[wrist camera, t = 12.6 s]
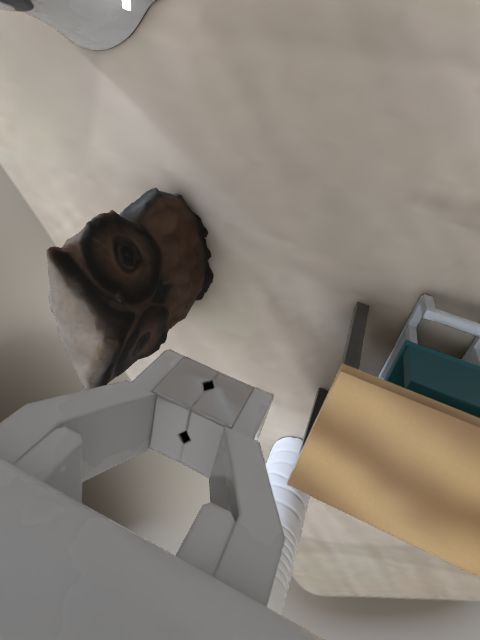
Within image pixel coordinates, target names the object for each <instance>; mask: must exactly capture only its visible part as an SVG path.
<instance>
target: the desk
mask: <svg viewBox="0 0 480 640" xmlns="http://www.w3.org/2000/svg"><path fill="white" fill-rule="evenodd" d="M368 307H369V306H368V305H365V304H363V303H360V302H357V305H356V307H355V309H354V312H353V316H352V320H351V325H350V329H349V333H348V338H347V342H346V346H345V350H344V355H343V359H342V363H341V366H340V368H339V370H338V373H337V375H336V377H335V379H334V381H333V383H332V385H331V388H330V390H329V392H328V391H326V390H324V389H321V388H319V390H318V392H317V395H316V398H315V401H314V405H313V408H312V411H311V415H310V418H309V421H308V425H307V428H306V431H305V435H304V438H303V441H302V445H301V448H300V451H299V454H298V458H297V461H296V463H295V465H294V467H293V469H292V471H291V474H290V476H289V479H288V483H287V485H289V486H291V487H293V488H295V489H297V490H299V491H301V492H303V493H305V494H307V495H310V496H312V497H314V498H316V499H318V500H320V501H322V502H324V503H326V504H328V505H330V506H332V507H334V508H337V509H339V510H341V511H343V512H345V513H347V514H349V515H351V516H353V517H355V518H357V519H359V520H361V521H364V522H366V523H368V524H370V525H372V526H374V527H376V528H378V529H380V530H382V531H384V532H386V533H388V534H391V535H393V536H395V537H397V538H399V539H401V540H403V541H405V542H407V543H409V544H411V545H413V546H415V547H418V548H420V549H422V550H424V551H426V552H428V553H430V554H432V555H434V556H436V557H438V558H440V559H442V560H445V561H447V562H449V563H451V564H453V565H455V566H457V567H459V568H461V569H463V570H465V571H467V572H470V573H472V574H474V575H476V576H478V577H480V418H478V417H476V416H473V415H471V414H468V413H466V412H463V411H461V410H458V409H456V408H453V407H451V406H448V405H446V404H443V403H441V402H438V401H436V400H433V399H431V398H428V397H426V396H423V395H421V394H418V393H416V392H413V391H411V390H408V389H406V388H403V387H401V386H398V385H396V384H393V383H391V382H388V381H386V380H383V379H380V378H378V377H375V376H373V375H370V374H368V373H365V372H363V371H360V370H359V365H360V359H361V352H362V346H363V339H364V333H365V326H366V320H367V314H368Z"/></svg>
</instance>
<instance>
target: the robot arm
mask: <svg viewBox="0 0 480 640" xmlns="http://www.w3.org/2000/svg"><path fill="white" fill-rule="evenodd" d="M154 1H156V0H0V9H3V10H7V11H12V12H14V11H20V12H24V13H27V14H29V15H31V16H33V17H34V18H36V19H38V20H40V21H42V22H44V23H45V24H47V25H49V26H50V27H52V28H54V29H55V30H57V31H58V32H59V33H61V34H62V35H63V36H64V37H65V38H67V39H68V40H69V41H71V42H72V43H74V44H76V45H78V46H80V47H82V48H85V49H89V50H105V49H109V48H112V47H114V46H116V45H118V44H120V43H121V42H123V41H124V40H125V39H126V38H127V37H129V36H130V34H131V33H132V32H133V31H134V30H135V28H136V27H137V26H138V24H139V23H140V21H141V19H142V17H143V16H144V14H145V12H146V11H147V9H148V8H149V6H150V5H151V4H152V3H153V2H154ZM273 397H274V395H273V394H271V393H269V392H266V391H264V390H262V389H259V388H257V387H253V386H251V385H248V384H246V383H244V382H241V381H239V380H237V379H234V378H232V377H230V376H227V375H225V374H223V373H220V372H218V371H216V370H214V369H212V368H210V367H208V366H205V365H203V364H201V363H199V362H197V361H195V360H192V359H190V358H188V357H185V356H183V355H181V354H179V353H177V352H174V351H172V350H166V351H164V352H163V353H162V354H161V355H160V356H159V357H158V358H157V359H156V360H155V361H154V362H153V363H152V364H150V365H149V366H148V367H147V368H146V369H145V370H144V371H143V372H142V373H141V374H140V375H139V376H138V377H137V378H136V379H134V380H133V381H132V382H129V381H127V380H125V381H121V382H117V383H113V384H109V385H104V386H100V387H96V388H92V389H88V390H84V391H79V392H75V393H71V394H67V395H63V396H59V397H54V398H50V399H46V400H42V401H38V402H34V403H29V404H26V405H24V406H23V407H22V408H20V409H19V410H17V411H16V412H15V413H13V414H12V415H11V416H9V417H8V418H6V419H5V420H4V421H2V422H1V423H0V640H325V639H323V638H321V637H319V636H317V635H316V634H314V633H312V632H310V631H309V630H307V629H305V628H303V627H301V626H300V625H298V624H296V623H294V622H293V621H291V620H289V619H287V618H285V617H283V616H282V615H280V614H278V613H276V612H275V611H273V610H271V609H269V608H268V607H267V605H268V601H269V597H270V594H271V590H272V586H273V583H274V579H275V575H276V571H277V568H278V564H279V560H280V557H281V553H282V549H283V546H284V542H285V536H284V532H283V528H282V525H281V521H280V517H279V513H278V510H277V506H276V502H275V499H274V495H273V491H272V488H271V484H270V480H269V476H268V473H267V469H266V465H265V462H264V458H263V454H262V451H261V447H260V443H259V442H258V441H257V440H258V438H259V435H260V433H261V430H262V427H263V425H264V422H265V419H266V417H267V414H268V411H269V409H270V406H271V403H272V401H273ZM148 448H150V449H152V450H154V451H156V452H158V453H161V454H163V455H165V456H167V457H169V458H171V459H173V460H176V461H178V462H180V463H182V464H183V465H185V466H187V467H189V468H191V469H193V470H195V471H197V472H198V473H200V474H202V475H204V476H206V477H208V478H209V486H210V500H211V501H210V502H211V503H208V504H205V505H203V506H202V508H201V510H200V511H199V513H198V515H197V517H196V519H195V521H194V523H193V524H192V526H191V528H190V530H189V532H188V534H187V535H186V537H185V539H184V541H183V543H182V545H181V547H180V548H179V550H178V552H177V554H176V556H175V555H173V554H171V553H169V552H168V551H166V550H164V549H162V548H160V547H158V546H157V545H155V544H153V543H152V542H150V541H148V540H146V539H144V538H142V537H141V536H139V535H137V534H135V533H134V532H132V531H130V530H128V529H127V528H124V527H123V526H121V525H119V524H117V523H116V522H114V521H112V520H110V519H109V518H107V517H105V516H103V515H102V514H100V513H98V512H96V511H94V510H93V509H91V508H89V507H87V506H85V505H84V504H82V482H83V481H85V480H88V479H89V478H92V477H94V476H96V475H98V474H100V473H102V472H104V471H106V470H108V469H110V468H112V467H114V466H116V465H118V464H120V463H122V462H124V461H127V460H129V459H131V458H133V457H135V456H137V455H139V454H141V453H143V452H145V451H147V450H148Z"/></svg>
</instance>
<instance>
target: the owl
mask: <svg viewBox="0 0 480 640" xmlns="http://www.w3.org/2000/svg"><path fill="white" fill-rule="evenodd" d="M207 234H208V231H207V229H206V228H205V227H204V226H203V224H202V221H201V219H200V217H199V216H198V215H196V214H195V213H194V212H193V211H192V210H191V209H190V208H189V207H188V205H187V204H186V203H185V201H184V200H183V198H182V195H180V194H174V195H172V194H169V193H166V192H161V191H159V190H158V189H157V188H153V189H151V190H149V191H147V192H146V193H144V194H143V195H142V196H141V197H140V198H139V199H138V200H136V201H135V202H134V203H131V204H130V205H129V206H128V207H127V208H126V209H124V211H123V212H121V213H120V215H119V214H117V213H116V212H114V211H113V210H111V211H110V212H109V213H102V214H99V215H97V216H96V217H94V218H93V219H92V220H91V221H89V222H87V224H86V226H85V227H84V229H83V230H82V231H81V232H79V233H78V234H76V235H75V236H73V237H71V238H70V239H68V240H67V241H66V242H65V244H64V246H63V247H62V248H59V247H50V248H49V249H48V250H47V260H48V274H49V281H50V292H49V302H50V308H51V311H52V313H53V314H54V316H55V319H56V321H57V329H58V333H59V337H60V339H61V342H62V344H63V345H64V348H65V350H66V352H67V354H68V356H69V358H70V361H71V362H72V364H73V365H74V367H75V370H76V372H77V374H78V376H79V378H80V381H81V383H82V385H83V387H84V388H85V390H88V389H92V388H96V387H100V386H104V385H107V383H109V382H110V381H111V380H113V379H114V378H115V377H117V376H119V375H120V374H122V373H123V372H124V371H126V370H127V369H128V368H129V367H130V366H131V365H132V364H133V363H134V362H136V361H137V360H138V359H141V358H144V357H148V356H150V355H151V354H153V353H154V352H156V351H157V350H159V348H160V345H161V344H163V343H165V341H166V338H167V332H168V330H169V329H171V328H172V327H173V326H174V325H175V324H176V323H177V322H179V321H181V320H183V319H185V317H186V316H187V314H188V312H189V310H190V309H191V307H192V305H193V303H194V302H195V300H201V299H202V298H203V296H204V293H206V292H207V290H208V288H209V286H210V284H211V283H212V280H213V273H212V270H211V269H210V267H209V264H208V261H207V260H208V259H209V258H210V257H211V253H210V251H209V249H208V248H207V245H206V240H205V238H204V237H207Z"/></svg>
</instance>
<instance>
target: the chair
mask: <svg viewBox="0 0 480 640" xmlns="http://www.w3.org/2000/svg"><path fill="white" fill-rule="evenodd" d="M421 318H425V319H427V320H430V321H435V322H438V323H441V324H444V325H447V326H450V327H452V328H455V329H458V330H461V331H464V332H467V333H470V334H473V335H476V338H475V339H474V341H473V343H472V344H471V346H470V347H469V349H468V350H467V352H466V353H465V355H464V356H463V358H462V359H458V358H455V357H452V356H450V355H447V354H444V353H441V352H439V351H436V350H433V349H430V348H428V347H425V346H422V345H419V344H418V341H417V332H416V328H417V326H418V324H419V322H420V320H421ZM378 378H380V379H383V380H386V381H388V382H391V383H393V384H396V385H398V386H401V387H403V388H406V389H408V390H411V391H413V392H416V393H418V394H421V395H423V396H426V397H428V398H431V399H433V400H436V401H438V402H441V403H443V404H446V405H448V406H451V407H453V408H456V409H458V410H461V411H463V412H466V413H468V414H471V415H473V416H476V417H478V418H480V323H477V322H474V321H471V320H468V319H465V318H462V317H459V316H456V315H453V314H450V313H447V312H445V311H442V310H439V309H436V308H435V303H434V299H433V297H431V296H428V295H425V294H424V295H421V296H420V298H419V300H418V302H417V304H416V306H415V308H414V310H413V312H412V314H411V315H410V317H409V319H408V321H407V323H406V325H405V327H404V329H403V331H402V333H401V334H400V336H399V338H398V340H397V342H396V344H395V346H394V348H393V350H392V351H391V353H390V355H389V357H388V359H387V361H386V363H385V365H384V367H383V369H382V370H381V372H380V374H379V376H378Z"/></svg>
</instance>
